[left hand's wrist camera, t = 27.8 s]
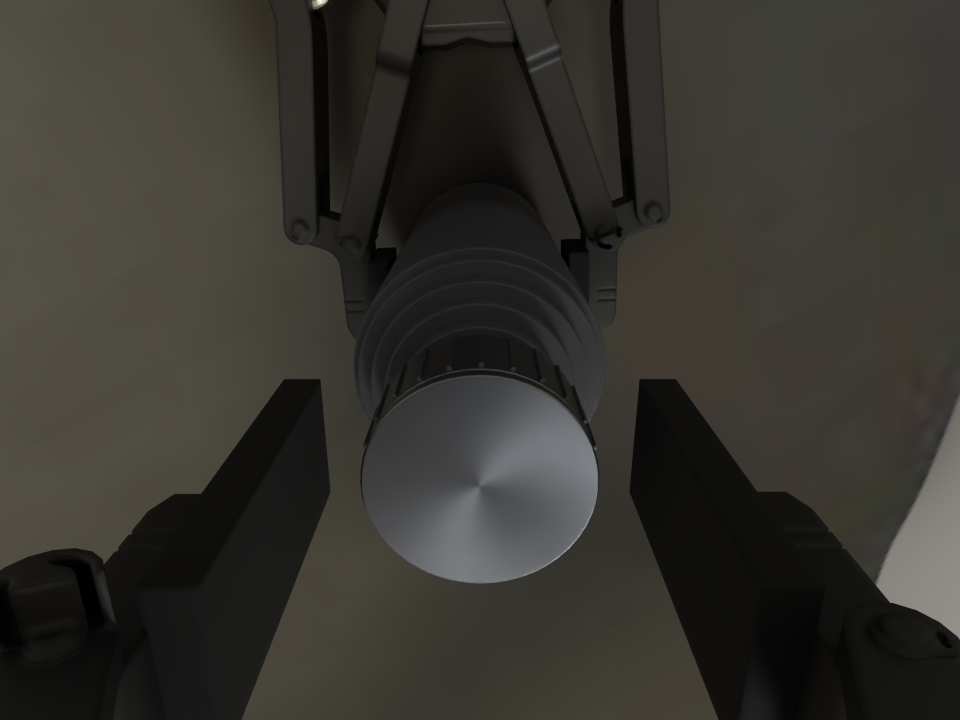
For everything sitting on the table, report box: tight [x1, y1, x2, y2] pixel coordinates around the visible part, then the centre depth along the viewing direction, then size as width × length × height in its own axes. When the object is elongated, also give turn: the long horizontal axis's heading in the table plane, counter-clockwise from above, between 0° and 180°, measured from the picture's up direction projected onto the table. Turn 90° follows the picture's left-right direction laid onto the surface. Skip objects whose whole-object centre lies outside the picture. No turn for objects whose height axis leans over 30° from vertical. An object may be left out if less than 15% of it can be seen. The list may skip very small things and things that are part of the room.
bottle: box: [354, 183, 606, 423], centre depth 23 cm, size 7×7×21 cm
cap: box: [361, 334, 599, 584], centre depth 14 cm, size 5×5×2 cm
